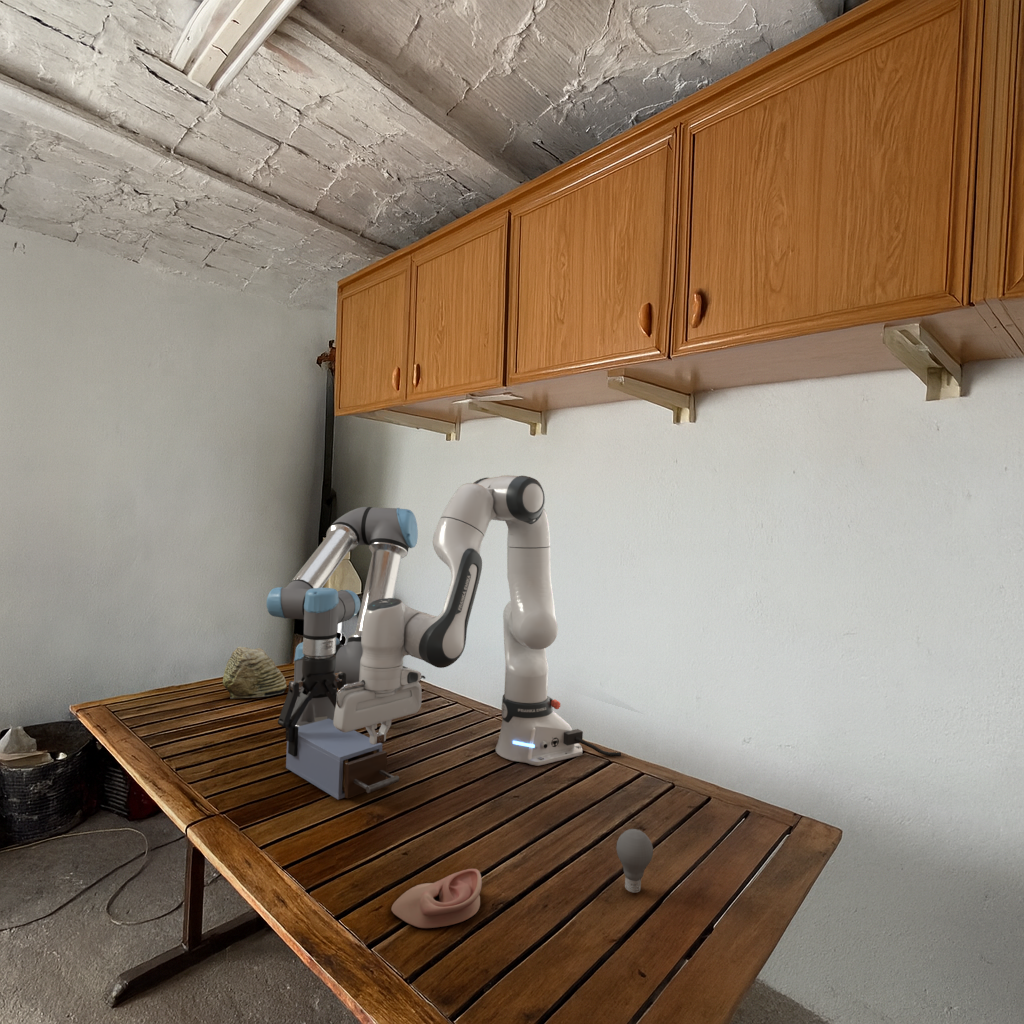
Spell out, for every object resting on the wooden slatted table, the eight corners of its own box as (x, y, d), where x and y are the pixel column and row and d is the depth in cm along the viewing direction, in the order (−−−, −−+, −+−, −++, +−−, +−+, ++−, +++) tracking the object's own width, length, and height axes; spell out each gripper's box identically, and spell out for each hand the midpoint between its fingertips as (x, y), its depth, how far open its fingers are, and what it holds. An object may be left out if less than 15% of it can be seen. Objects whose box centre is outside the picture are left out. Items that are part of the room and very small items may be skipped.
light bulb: (610, 879, 108) (613, 822, 108) (644, 879, 109) (647, 822, 109) (619, 902, 102) (622, 840, 102) (655, 901, 103) (658, 840, 103)
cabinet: (381, 783, 141) (382, 743, 141) (338, 799, 133) (339, 757, 133) (327, 754, 155) (329, 718, 155) (285, 767, 147) (287, 729, 147)
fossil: (218, 695, 195) (220, 647, 195) (278, 685, 208) (279, 640, 207) (228, 703, 189) (230, 653, 188) (289, 692, 201) (290, 645, 201)
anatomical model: (384, 895, 95) (411, 854, 106) (383, 921, 95) (410, 877, 106) (469, 910, 92) (488, 866, 104) (468, 937, 93) (487, 890, 104)
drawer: (402, 793, 135) (404, 760, 135) (364, 808, 128) (365, 773, 128) (334, 756, 152) (335, 726, 152) (296, 768, 145) (297, 737, 145)
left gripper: (280, 666, 137) (276, 766, 137) (370, 650, 155) (366, 739, 155) (263, 659, 142) (259, 756, 142) (352, 644, 160) (349, 731, 160)
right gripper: (347, 689, 123) (343, 760, 123) (427, 672, 138) (424, 735, 138) (328, 682, 127) (325, 750, 127) (408, 665, 142) (405, 727, 142)
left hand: (315, 747), depth 149 cm, fingers closed on cabinet, 11 cm apart
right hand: (377, 742), depth 133 cm, fingers closed
